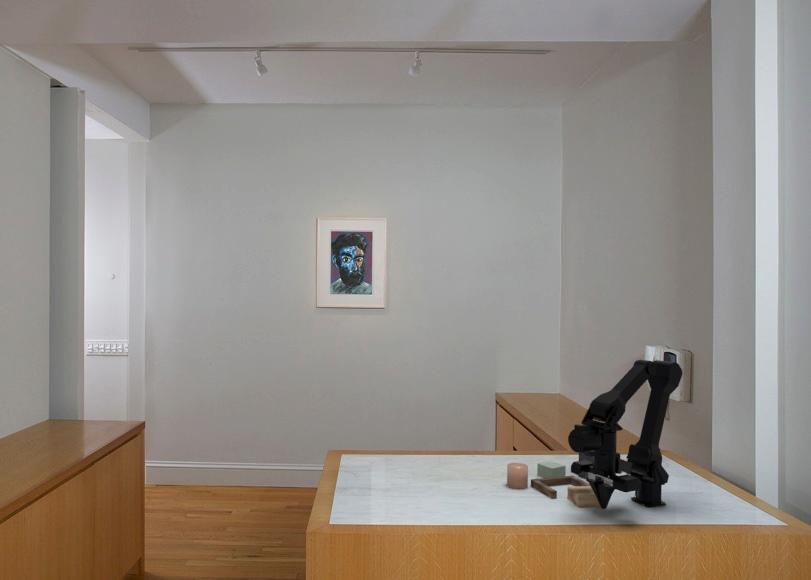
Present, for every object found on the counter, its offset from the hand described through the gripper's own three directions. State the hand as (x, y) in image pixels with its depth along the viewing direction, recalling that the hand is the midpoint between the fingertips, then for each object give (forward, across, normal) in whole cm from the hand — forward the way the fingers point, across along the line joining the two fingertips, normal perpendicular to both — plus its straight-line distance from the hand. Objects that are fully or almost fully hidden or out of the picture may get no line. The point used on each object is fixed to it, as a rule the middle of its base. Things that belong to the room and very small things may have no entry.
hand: (603, 508), depth 149 cm
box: (+1, +24, -21) cm, 32 cm away
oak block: (+1, +8, -1) cm, 8 cm away
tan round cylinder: (+1, +26, +7) cm, 27 cm away
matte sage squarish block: (+1, +29, -9) cm, 30 cm away
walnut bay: (+1, +18, -3) cm, 19 cm away
